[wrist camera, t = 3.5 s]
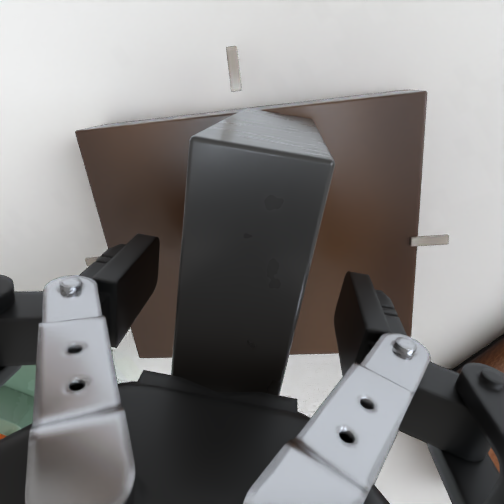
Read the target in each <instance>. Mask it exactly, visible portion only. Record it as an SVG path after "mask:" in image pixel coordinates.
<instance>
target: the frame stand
mask: <svg viewBox="0 0 504 504" xmlns="http://www.w3.org/2000/svg"><path fill="white" fill-rule="evenodd" d="M226 51H227V59H228V67H229V76H230V84H231V91H232V92H235V91H242V86H241V77H240V69H239V60H238V51H237V46H231V47H226ZM426 104H427V91H419V90H400V91H391V92H383V93H374V94H365V95H357V96H348V97H339V98H331V99H322V100H313V101H304V102H296V103H287V104H278V105H270V106H261V107H252V108H250V109H256V110H262V111H267V112H273V113H279V114H285V115H291V116H297V117H303V118H309V119H312V120H313V121H314V123H315V125H316V127H317V129H318V131H319V133H320V135H321V137H322V138H323V140H324V142H325V144H326V146H327V148H328V150H329V152H330V154H331V156H332V157H333V159H334V162H335V167H334V172H333V176H332V180H331V184H330V188H329V192H328V196H327V201H326V205H325V209H324V213H323V217H322V221H321V225H320V229H319V234H318V238H317V242H316V246H315V250H314V254H313V258H312V263H311V267H310V271H309V275H308V279H307V283H306V287H305V291H304V296H303V300H302V304H301V308H300V312H299V316H298V320H297V325H296V329H295V333H294V337H293V341H292V345H291V349H290V353H289V355H293V354H334V353H339V351H338V346H337V340H336V334H335V328H334V314H335V309H336V305H337V302H338V298H339V295H340V291H341V288H342V284H343V281H344V277H345V275H346V273H347V272H348V271H350V272H356V273H361V274H367V275H369V276H370V279H371V281H372V284H373V286H374V289H376V290H381V291H383V292H384V293H385V294H386V295H387V296H388V297H389V298H390V299H391V301H392V303H393V305H394V307H395V310H396V312H397V314H398V317H399V318H400V321H401V323H402V325H403V327H404V329H405V332H406V334H407V336H409V337H411V328H412V313H413V298H414V283H415V269H416V254H417V246H427V245H444V244H448V242H449V235H433V236H418V224H419V209H420V194H421V179H422V164H423V149H424V134H425V119H426ZM244 109H246V108H244ZM241 110H243V109H235V110H226V111H217V112H209V113H200V114H191V115H183V116H174V117H165V118H157V119H148V120H139V121H130V122H122V123H113V124H104V125H100V126H95V127H90V128H86V129H81V130H77V131H75V134H76V137H77V141H78V144H79V148H80V151H81V155H82V158H83V162H84V165H85V169H86V172H87V176H88V179H89V183H90V186H91V190H92V193H93V197H94V200H95V204H96V207H97V211H98V214H99V218H100V221H101V225H102V228H103V232H104V235H105V239H106V242H107V246H108V249H109V248H111V247H114V246H116V245H119V244H127V243H128V242H129V241H130V240H131V239H132V238H133V237H134V236H135V235H136V234H144V235H149V236H155V237H158V238H159V240H160V249H159V270H158V280H157V285H156V288H155V290H154V292H153V294H152V295H151V297H150V298H149V300H148V301H147V303H146V304H145V306H144V307H143V309H142V310H141V312H140V313H139V315H138V316H137V318H136V319H135V321H134V322H133V324H132V325H131V330H132V333H133V337H134V340H135V344H136V347H137V351H138V354H139V358H170V357H173V345H174V332H175V319H176V307H177V294H178V281H179V268H180V255H181V243H182V230H183V217H184V204H185V191H186V178H187V166H188V153H189V140H190V138H191V136H193V135H195V134H197V133H199V132H201V131H203V130H205V129H207V128H209V127H211V126H213V125H215V124H216V123H218V122H220V121H222V120H224V119H226V118H228V117H230V116H232V115H234V114H236V113H238V112H240V111H241ZM98 258H99V257H89V258H86V259H85V261H86V264H87V266H90V265H91V264H92V263H93V262H96V260H97V259H98Z"/></svg>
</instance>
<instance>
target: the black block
mask: <svg viewBox="0 0 504 504" xmlns="http://www.w3.org/2000/svg"><path fill="white" fill-rule="evenodd" d="M334 167H335V162H334V159H333V157H332V156H331V154H330V152H329V150H328V148H327V146H326V144H325V142H324V140H323V138H322V137H321V135H320V133H319V131H318V129H317V127H316V125H315V123H314V121H313V120H312V119H309V118H303V117H297V116H291V115H285V114H279V113H273V112H267V111H262V110H256V109H250V108H246V109H243V110H241V111H240V112H238V113H236V114H234V115H232V116H230V117H228V118H226V119H224V120H222V121H220V122H218V123H216V124H215V125H213V126H211V127H209V128H207V129H205V130H203V131H201V132H199V133H197V134H195V135H193V136H191V138H190V140H189V153H188V166H187V178H186V191H185V204H184V217H183V230H182V243H181V255H180V268H179V281H178V294H177V307H176V319H175V332H174V345H173V358H172V371H171V375H172V376H177V377H182V378H184V379H187V380H189V381H191V382H194V383H196V384H199V385H201V386H204V387H206V388H208V389H211V390H213V391H216V392H262V393H268V394H273V395H278V396H279V395H280V391H281V386H282V382H283V378H284V374H285V370H286V366H287V362H288V358H289V353H290V349H291V345H292V341H293V337H294V333H295V329H296V325H297V320H298V316H299V312H300V308H301V304H302V300H303V296H304V291H305V287H306V283H307V279H308V275H309V271H310V267H311V263H312V258H313V254H314V250H315V246H316V242H317V238H318V234H319V229H320V225H321V221H322V217H323V213H324V209H325V205H326V201H327V196H328V192H329V188H330V184H331V180H332V176H333V172H334Z"/></svg>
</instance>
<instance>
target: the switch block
mask: <svg viewBox="0 0 504 504" xmlns="http://www.w3.org/2000/svg"><path fill="white" fill-rule="evenodd" d="M35 374H36V365H22V367H21V368H20V369H19V370H18V371H17V372H16V373H15V374H14V375H13V376H12V377H11V378H10V379H9V380H8V381H7V382H6V383H5V384H4V385H3V386H1V387H0V434H3V435H5V436H8V435H10V434H12V433H14V432H16V431H18V430H20V429H22V428H24V427H26V426H27V425H29V424H31V423H32V422H33V406H34V390H35Z"/></svg>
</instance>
